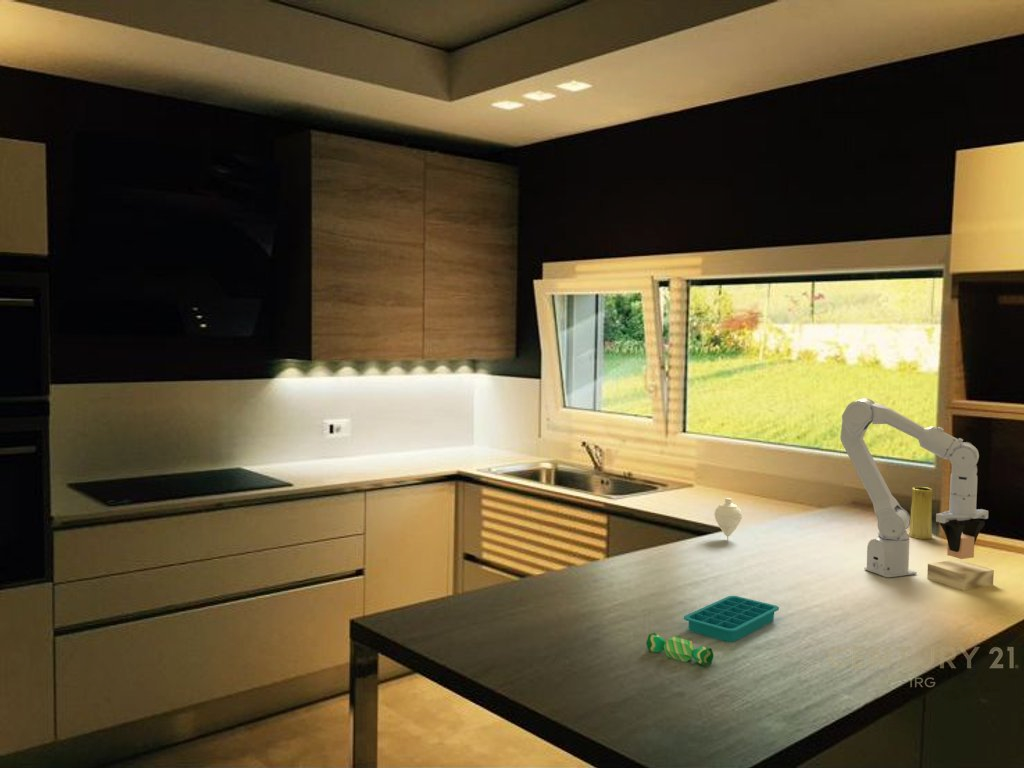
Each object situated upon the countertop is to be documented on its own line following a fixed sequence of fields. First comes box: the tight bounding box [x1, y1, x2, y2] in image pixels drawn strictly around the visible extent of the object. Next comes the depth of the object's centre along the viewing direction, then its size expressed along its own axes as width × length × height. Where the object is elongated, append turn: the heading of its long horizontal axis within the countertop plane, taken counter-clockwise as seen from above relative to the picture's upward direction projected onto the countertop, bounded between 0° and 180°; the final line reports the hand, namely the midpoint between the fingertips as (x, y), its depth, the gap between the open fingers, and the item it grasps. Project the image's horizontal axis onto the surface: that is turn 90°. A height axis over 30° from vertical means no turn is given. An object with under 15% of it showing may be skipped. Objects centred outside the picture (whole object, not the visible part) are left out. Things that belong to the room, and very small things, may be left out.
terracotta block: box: [946, 533, 975, 560], centre depth 206 cm, size 4×4×5 cm
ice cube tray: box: [683, 595, 780, 643], centre depth 176 cm, size 12×20×3 cm, turn 136°
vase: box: [908, 486, 933, 540], centre depth 249 cm, size 6×6×14 cm
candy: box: [645, 632, 714, 667], centre depth 159 cm, size 12×3×4 cm
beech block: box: [926, 558, 995, 591], centre depth 206 cm, size 10×10×4 cm
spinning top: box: [714, 497, 743, 540], centre depth 246 cm, size 8×8×12 cm
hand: (961, 550), depth 205 cm, fingers closed on terracotta block, 4 cm apart
